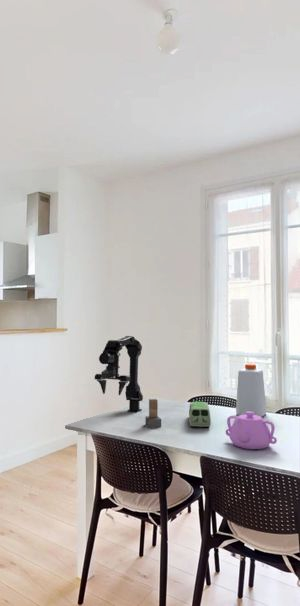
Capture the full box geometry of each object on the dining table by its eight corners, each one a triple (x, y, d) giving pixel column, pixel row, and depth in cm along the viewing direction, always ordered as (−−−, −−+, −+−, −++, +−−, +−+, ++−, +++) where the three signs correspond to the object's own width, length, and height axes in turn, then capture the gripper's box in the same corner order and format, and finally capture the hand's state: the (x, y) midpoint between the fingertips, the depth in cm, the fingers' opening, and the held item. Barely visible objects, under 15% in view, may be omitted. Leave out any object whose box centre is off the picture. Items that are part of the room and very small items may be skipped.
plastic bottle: (261, 418, 202) (261, 366, 204) (234, 415, 209) (233, 365, 211) (267, 413, 215) (266, 364, 217) (241, 410, 222) (240, 362, 224)
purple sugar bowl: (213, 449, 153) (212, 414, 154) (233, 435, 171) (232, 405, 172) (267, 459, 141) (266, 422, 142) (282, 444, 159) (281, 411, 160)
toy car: (208, 417, 206) (208, 398, 207) (211, 429, 182) (211, 408, 182) (188, 416, 207) (188, 398, 208) (189, 429, 183) (189, 408, 183)
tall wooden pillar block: (145, 424, 191) (145, 398, 191) (156, 423, 192) (156, 397, 193) (149, 428, 184) (149, 401, 185) (161, 427, 186) (161, 400, 187)
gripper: (89, 363, 194) (87, 394, 192) (122, 365, 187) (120, 397, 184) (100, 363, 204) (99, 392, 202) (131, 364, 197) (130, 395, 195)
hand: (111, 394), depth 195 cm, fingers open, 9 cm apart
